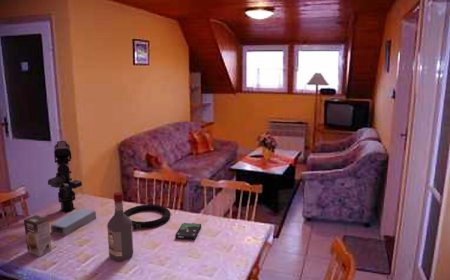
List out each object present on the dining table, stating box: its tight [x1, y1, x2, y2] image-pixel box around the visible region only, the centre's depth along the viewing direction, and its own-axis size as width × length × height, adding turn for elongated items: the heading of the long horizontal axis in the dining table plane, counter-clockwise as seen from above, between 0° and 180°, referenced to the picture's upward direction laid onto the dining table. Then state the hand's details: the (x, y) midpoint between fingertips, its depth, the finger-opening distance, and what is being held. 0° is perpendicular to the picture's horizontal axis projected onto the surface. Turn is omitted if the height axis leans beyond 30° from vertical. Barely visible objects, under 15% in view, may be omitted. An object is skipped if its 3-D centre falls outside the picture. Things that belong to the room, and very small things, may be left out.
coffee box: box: [23, 214, 52, 257], centre depth 161 cm, size 9×6×16 cm
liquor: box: [106, 191, 134, 263], centre depth 156 cm, size 9×9×30 cm
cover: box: [50, 208, 96, 228], centre depth 188 cm, size 9×22×1 cm, turn 160°
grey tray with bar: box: [50, 211, 97, 237], centre depth 188 cm, size 9×23×4 cm, turn 160°
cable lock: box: [124, 204, 171, 232], centre depth 197 cm, size 28×4×30 cm
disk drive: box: [175, 222, 202, 241], centre depth 182 cm, size 10×3×15 cm
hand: (66, 197), depth 194 cm, fingers closed
